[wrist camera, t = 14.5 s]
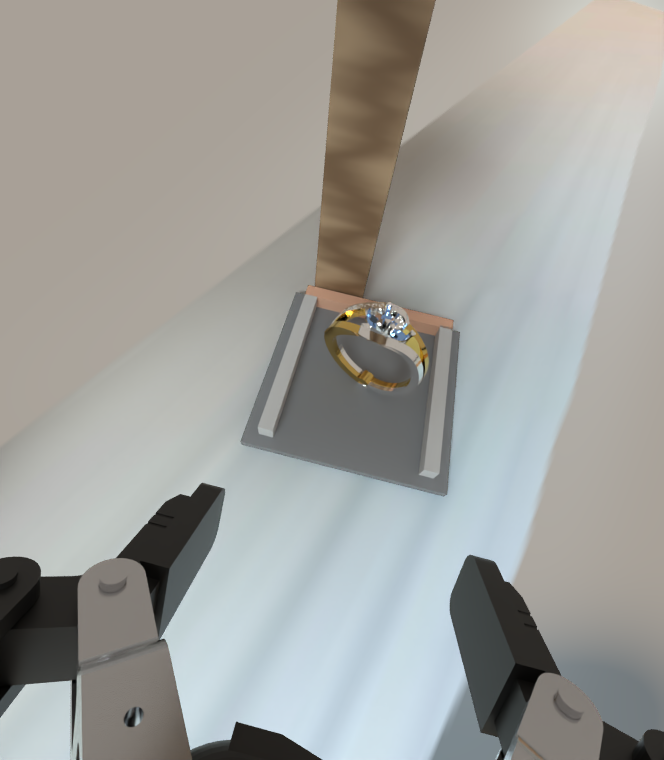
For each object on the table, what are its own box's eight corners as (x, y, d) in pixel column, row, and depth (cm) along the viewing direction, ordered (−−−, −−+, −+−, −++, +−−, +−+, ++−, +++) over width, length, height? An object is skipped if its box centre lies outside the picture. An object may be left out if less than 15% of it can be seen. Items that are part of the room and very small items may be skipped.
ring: (414, 394, 28) (454, 329, 22) (392, 425, 27) (427, 367, 20) (338, 344, 30) (352, 269, 23) (313, 372, 29) (321, 300, 22)
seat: (241, 444, 26) (238, 434, 24) (296, 297, 33) (296, 282, 31) (443, 496, 26) (453, 490, 24) (457, 336, 32) (465, 323, 31)
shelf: (283, 389, 28) (250, -605, 5) (327, 259, 35) (401, -409, 12) (469, 436, 28) (1418, -404, 4) (477, 295, 35) (862, -323, 11)
